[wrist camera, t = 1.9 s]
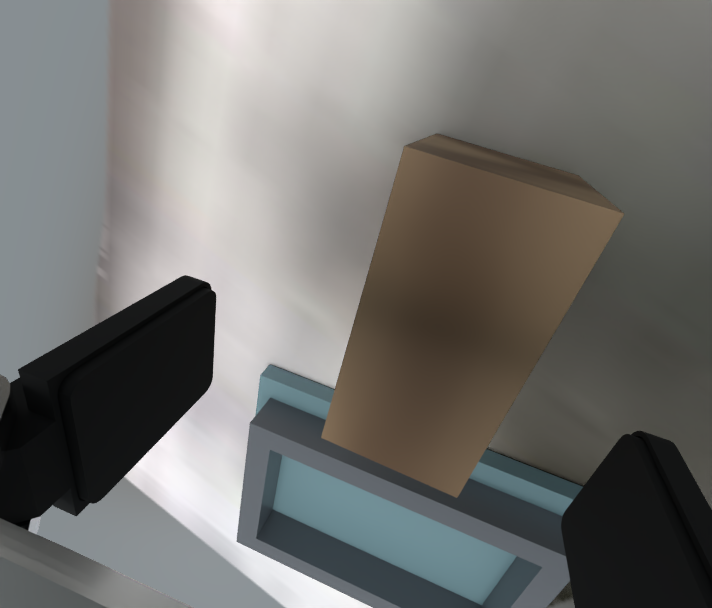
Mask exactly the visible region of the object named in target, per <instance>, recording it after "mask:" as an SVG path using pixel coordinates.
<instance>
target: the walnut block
mask: <svg viewBox="0 0 712 608" xmlns="http://www.w3.org/2000/svg"><path fill="white" fill-rule="evenodd" d="M623 216H624V213H623V212H622V211H621V210H619V209H618V208H617V207H616V206H614V205H613V204H612V203H611V202H610V201H608V200H607V199H606V198H605V197H604V196H602V195H601V194H600V193H599V192H598V191H596V190H595V189H594V188H593V187H591V186H590V185H589V184H588V183H587V182H585V181H584V180H583V179H582V178H581V177H579V176H578V175H575V174H571V173H568V172H565V171H561V170H558V169H554V168H551V167H548V166H544V165H541V164H538V163H534V162H531V161H528V160H524V159H521V158H518V157H514V156H511V155H508V154H504V153H501V152H497V151H494V150H491V149H487V148H484V147H481V146H477V145H474V144H471V143H467V142H464V141H461V140H457V139H454V138H450V137H447V136H444V135H440V134H435V135H432V136H429V137H427V138H424V139H422V140H419V141H416V142H414V143H411V144H409V145H406V146H404V149H403V153H402V156H401V160H400V163H399V167H398V170H397V174H396V177H395V181H394V184H393V188H392V191H391V195H390V198H389V202H388V205H387V209H386V212H385V216H384V219H383V222H382V226H381V229H380V233H379V236H378V240H377V243H376V247H375V250H374V254H373V257H372V261H371V264H370V268H369V271H368V275H367V278H366V282H365V285H364V289H363V292H362V296H361V299H360V303H359V306H358V310H357V313H356V317H355V320H354V324H353V327H352V331H351V334H350V338H349V341H348V345H347V348H346V352H345V355H344V359H343V362H342V366H341V369H340V373H339V376H338V380H337V383H336V387H335V390H334V394H333V397H332V401H331V404H330V408H329V411H328V415H327V418H326V422H325V425H324V429H323V432H322V436H321V438H323V439H325V440H327V441H329V442H332V443H334V444H336V445H338V446H341V447H343V448H345V449H347V450H350V451H352V452H354V453H356V454H359V455H361V456H363V457H366V458H368V459H370V460H372V461H375V462H377V463H379V464H381V465H384V466H386V467H388V468H390V469H393V470H395V471H397V472H399V473H402V474H404V475H406V476H408V477H411V478H413V479H415V480H417V481H420V482H422V483H424V484H426V485H429V486H431V487H433V488H436V489H438V490H440V491H442V492H445V493H447V494H449V495H451V496H454V497H456V498H457V497H458V496H459V494H460V492H461V491H462V489H463V487H464V485H465V484H466V482H467V480H468V479H469V477H470V475H471V474H472V472H473V470H474V469H475V467H476V465H477V463H478V462H479V460H480V458H481V457H482V455H483V453H484V452H485V450H486V448H487V446H488V445H489V443H490V441H491V440H492V438H493V436H494V435H495V433H496V431H497V429H498V428H499V426H500V424H501V423H502V421H503V419H504V418H505V416H506V414H507V413H508V411H509V409H510V407H511V406H512V404H513V402H514V401H515V399H516V397H517V396H518V394H519V392H520V390H521V389H522V387H523V385H524V384H525V382H526V380H527V379H528V377H529V375H530V373H531V372H532V370H533V368H534V367H535V365H536V363H537V362H538V360H539V358H540V356H541V355H542V353H543V351H544V350H545V348H546V346H547V345H548V343H549V341H550V340H551V338H552V336H553V334H554V333H555V331H556V329H557V328H558V326H559V324H560V323H561V321H562V319H563V317H564V316H565V314H566V312H567V311H568V309H569V307H570V306H571V304H572V302H573V300H574V299H575V297H576V295H577V294H578V292H579V290H580V289H581V287H582V285H583V284H584V282H585V280H586V278H587V277H588V275H589V273H590V272H591V270H592V268H593V267H594V265H595V263H596V261H597V260H598V258H599V256H600V255H601V253H602V251H603V250H604V248H605V246H606V244H607V243H608V241H609V239H610V238H611V236H612V234H613V233H614V231H615V229H616V227H617V226H618V224H619V222H620V221H621V219H622V217H623Z"/></svg>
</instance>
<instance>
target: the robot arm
mask: <svg viewBox="0 0 712 608" xmlns="http://www.w3.org/2000/svg"><path fill="white" fill-rule="evenodd" d="M215 312H216V294H215V292H214V291H212V290H211V286H210V284H209V283H208V282H205V281H202V280H199V279H196V278H193V277H190V276H186V275H185V276H182V277H180V278H178V279H176V280H175V281H173V282H171V283H169V284H168V285H166V286H164V287H162V288H161V289H159V290H157V291H155V292H153V293H152V294H150V295H148V296H146V297H145V298H143V299H141V300H139V301H138V302H136V303H134V304H132V305H131V306H129V307H127V308H125V309H124V310H122V311H120V312H118V313H117V314H115V315H113V316H111V317H109V318H108V319H106V320H104V321H102V322H101V323H99V324H97V325H95V326H94V327H92V328H90V329H88V330H87V331H85V332H83V333H81V334H80V335H78V336H76V337H74V338H73V339H71V340H69V341H67V342H65V343H64V344H62V345H60V346H58V347H57V348H55V349H53V350H52V351H50V352H48V353H46V354H44V355H43V356H41V357H39V358H37V359H36V360H34V361H32V362H30V363H28V364H27V365H25V366H23V367H21V368H20V369H18V371H19V375H20V378H18V379H16V380H15V381H13V382H11V383H9V381H8V380H7V378H6V377H4V376H2V375H0V608H193V607H191V606H189V605H187V604H185V603H183V602H181V601H178V600H176V599H174V598H172V597H170V596H168V595H166V594H164V593H161V592H159V591H157V590H155V589H153V588H151V587H149V586H147V585H144V584H142V583H140V582H138V581H136V580H133V579H132V578H130V577H128V576H125V575H123V574H121V573H119V572H117V571H115V570H112V569H110V568H108V567H106V566H104V565H102V564H100V563H98V562H96V561H93V560H91V559H89V558H87V557H85V556H83V555H81V554H79V553H77V552H74V551H72V550H70V549H68V548H66V547H63V546H61V545H59V544H57V543H55V542H52V541H50V540H48V539H46V538H43V537H41V536H39V535H37V533H38V528H39V523H40V518H41V515H42V514H43V513H44V512H45V511H46V510H47V509H49V508H50V507H51V506H52V505H54V506H55V507H57V508H59V509H61V510H64V511H66V512H68V513H70V514H72V515H75V516H77V515H78V514H79V513H80V512H81V511H82V510H83V509H84V508H85V507H86V506H87V505H88V504H89V503H97V502H98V501H100V500H101V499H102V498H103V497H104V496H105V495H106V494H107V493H108V492H109V491H110V490H111V489H112V488H113V487H114V486H115V485H116V484H117V483H118V482H119V481H120V480H121V479H122V478H123V477H124V476H125V475H126V474H127V473H128V472H129V471H130V470H131V469H132V468H133V467H134V466H135V465H136V464H137V463H138V461H139V460H140V459H141V458H142V457H143V456H144V455H145V454H146V453H147V452H148V451H149V450H150V449H151V448H152V447H153V446H154V445H155V444H156V443H157V442H158V441H159V440H160V439H161V438H162V437H163V436H164V435H165V434H166V433H167V432H168V431H169V430H170V429H171V427H172V426H173V425H174V424H175V423H176V422H177V421H178V420H179V419H180V418H181V417H182V416H183V415H184V414H185V413H186V412H187V411H188V410H189V409H190V408H191V407H192V406H193V405H194V404H195V403H196V402H197V401H198V400H199V399H200V398H201V397H202V396H203V395H204V393H205V392H206V391H207V390H208V388H209V387H210V385H211V382H212V378H213V358H214V335H215ZM561 531H562V537H563V542H564V548H565V554H566V559H567V565H568V571H569V576H570V582H571V587H572V593H573V599H574V604H575V608H712V510H711V508H710V506H709V504H708V503H707V501H706V499H705V497H704V495H703V494H702V492H701V490H700V488H699V486H698V485H697V483H696V481H695V479H694V478H693V476H692V474H691V472H690V470H689V469H688V467H687V465H686V463H685V461H684V460H683V458H682V456H681V454H680V452H679V451H678V449H677V447H676V446H675V444H674V443H673V442H671V441H669V440H666V439H663V438H660V437H657V436H654V435H651V434H648V433H646V432H643V431H636V432H634V433H633V434H632V435H629V434H625V435H623V436H622V437H621V438H620V439H619V441H618V442H617V443H616V445H615V446H614V447H613V448H612V450H611V451H610V452H609V454H608V455H607V456H606V458H605V459H604V460H603V462H602V463H601V464H600V466H599V467H598V468H597V470H596V471H595V472H594V474H593V475H592V476H591V477H590V479H589V480H588V481H587V483H586V484H585V485H584V487H583V488H582V489H581V491H580V492H579V493H578V495H577V496H576V497H575V499H574V500H573V501H572V503H571V504H570V505H569V506H568V508H567V509H566V510H565V512H564V514H563V517H562V521H561Z"/></svg>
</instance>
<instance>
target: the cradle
mask: <svg viewBox="0 0 712 608" xmlns="http://www.w3.org/2000/svg"><path fill="white" fill-rule="evenodd" d="M333 394H334V389H331V388H329V387H326V386H324V385H321V384H319V383H316V382H313V381H311V380H308V379H306V378H303V377H301V376H298V375H296V374H293V373H290V372H288V371H285V370H283V369H280V368H278V367H275V366H273V365H269V366H268V367H267V368H266V370H265V371H264V372H263V373H262V374H261V375H260V383H259V391H258V400H257V408H256V416H255V417H254V419H253V420H252V421H251V422H250V428H249V437H248V446H247V454H246V463H245V472H244V481H243V489H242V498H241V507H240V516H239V525H238V533H237V542H238V543H241V544H243V545H245V546H247V547H249V548H251V549H253V550H255V551H257V552H259V553H261V554H263V555H265V556H267V557H269V558H272V559H274V560H276V561H278V562H280V563H282V564H284V565H286V566H288V567H290V568H292V569H294V570H296V571H298V572H301V573H303V574H305V575H307V576H309V577H311V578H313V579H315V580H317V581H319V582H321V583H323V584H325V585H327V586H330V587H332V588H334V589H336V590H338V591H340V592H342V593H344V594H346V595H348V596H350V597H352V598H354V599H356V600H359V601H361V602H363V603H365V604H367V605H369V606H371V607H373V608H546V607H547V606H548V605H549V604H550V603H551V602H552V600H553V599H554V598H555V597H556V596H557V595H558V594H559V592H560V591H561V590H562V589H563V588H564V587H565V586H566V585H567V583H568V582H569V581H570V576H569V571H568V565H567V559H566V554H565V548H564V542H563V537H562V531H561V521H562V517H563V514H564V512H565V510H566V509H567V508H568V506H569V505H570V504H571V503H572V501H573V500H574V499H575V497H576V496H577V495H578V493H579V492H580V491H581V489H582V488H583V487H582V486H580V485H577V484H574V483H572V482H569V481H567V480H564V479H562V478H559V477H557V476H554V475H551V474H549V473H546V472H544V471H541V470H539V469H536V468H534V467H531V466H528V465H526V464H523V463H521V462H518V461H516V460H513V459H510V458H508V457H505V456H503V455H500V454H498V453H495V452H493V451H490V450H487V449H486V450H485V452H484V453H483V455H482V457H481V458H480V460H479V462H478V463H477V465H476V467H475V469H474V470H473V472H472V474H471V475H470V477H469V479H468V480H467V482H466V484H465V485H464V487H463V489H462V491H461V492H460V494H459V496H458V497H457V498H456V497H454V496H451V495H449V494H447V493H445V492H442V491H440V490H438V489H436V488H433V487H431V486H429V485H426V484H424V483H422V482H420V481H417V480H415V479H413V478H411V477H408V476H406V475H404V474H402V473H399V472H397V471H395V470H393V469H390V468H388V467H386V466H384V465H381V464H379V463H377V462H375V461H372V460H370V459H368V458H366V457H363V456H361V455H359V454H356V453H354V452H352V451H350V450H347V449H345V448H343V447H341V446H338V445H336V444H334V443H332V442H329V441H327V440H325V439H323V438H321V436H322V432H323V429H324V425H325V422H326V418H327V415H328V411H329V408H330V404H331V401H332V397H333Z"/></svg>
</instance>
